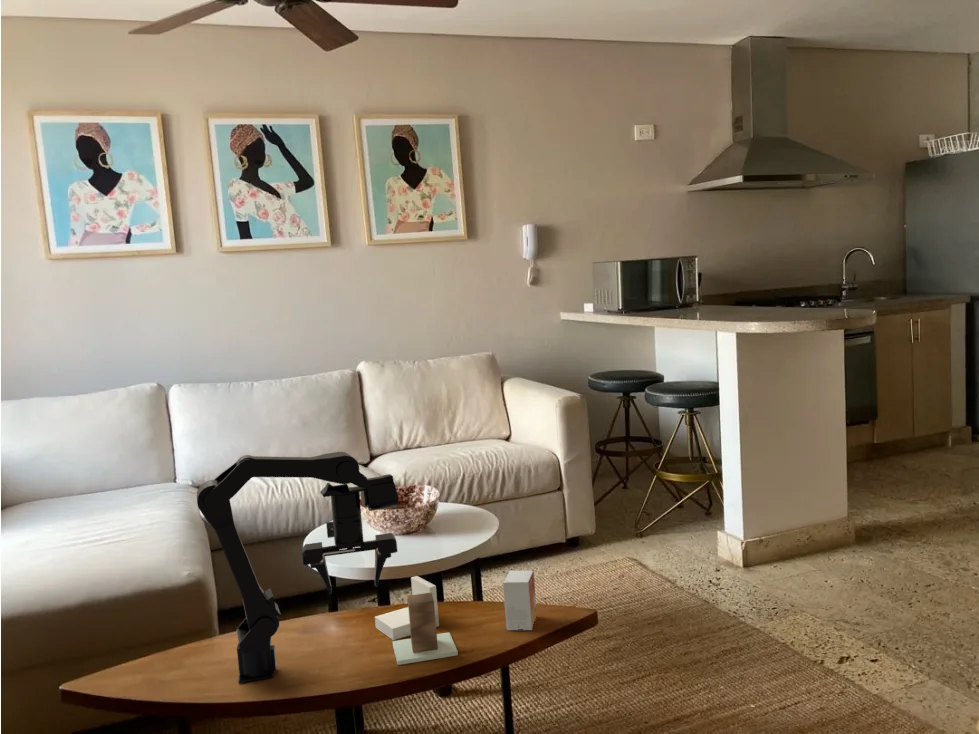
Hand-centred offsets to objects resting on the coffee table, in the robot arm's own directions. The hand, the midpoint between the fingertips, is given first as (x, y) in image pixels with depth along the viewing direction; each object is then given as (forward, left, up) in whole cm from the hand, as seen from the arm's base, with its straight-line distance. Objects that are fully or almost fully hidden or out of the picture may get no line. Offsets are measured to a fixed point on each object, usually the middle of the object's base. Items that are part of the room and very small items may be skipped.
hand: (353, 589), depth 163 cm
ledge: (+11, +9, -13) cm, 19 cm away
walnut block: (+13, -4, -12) cm, 18 cm away
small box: (+35, +1, -13) cm, 37 cm away
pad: (+13, -4, -13) cm, 19 cm away
